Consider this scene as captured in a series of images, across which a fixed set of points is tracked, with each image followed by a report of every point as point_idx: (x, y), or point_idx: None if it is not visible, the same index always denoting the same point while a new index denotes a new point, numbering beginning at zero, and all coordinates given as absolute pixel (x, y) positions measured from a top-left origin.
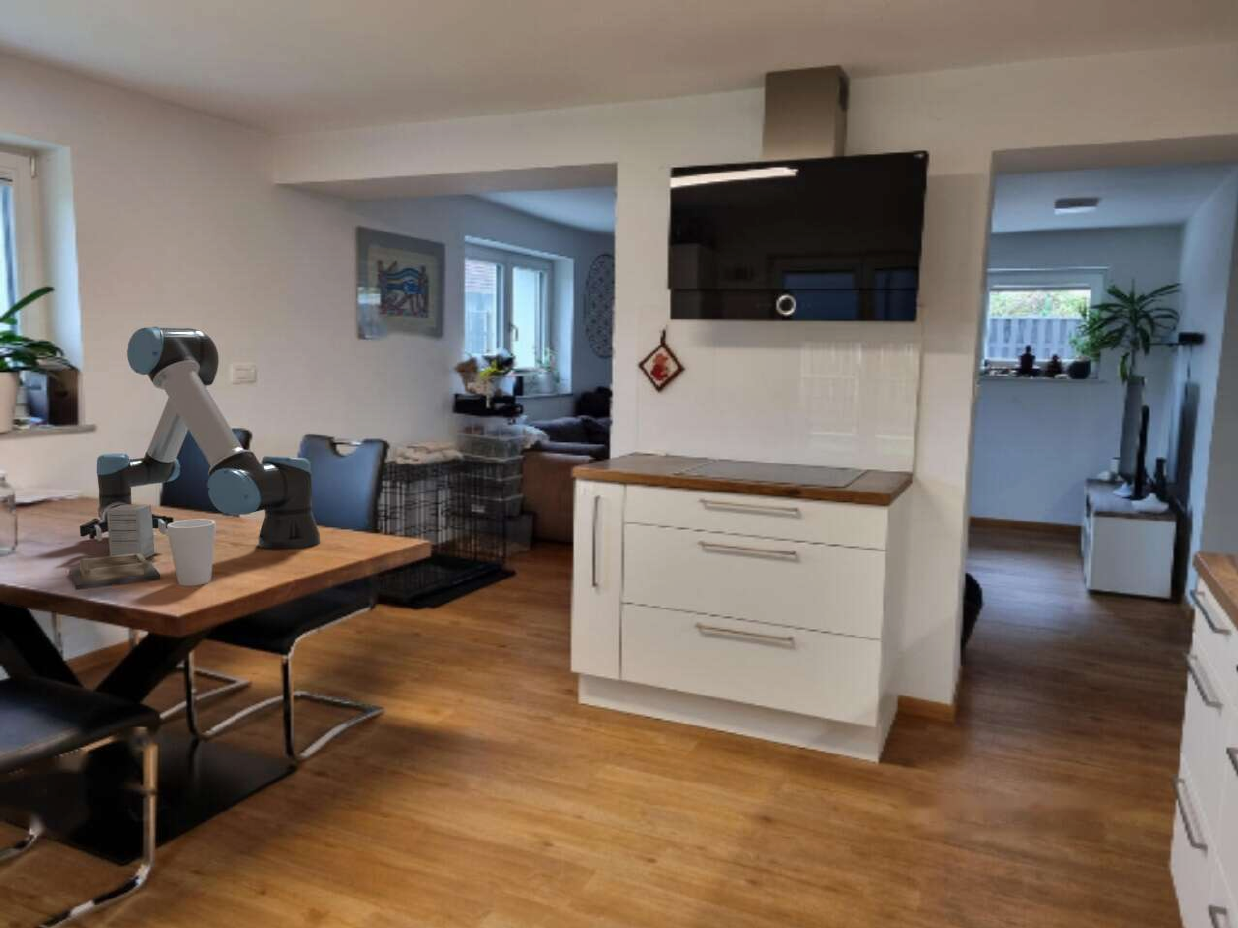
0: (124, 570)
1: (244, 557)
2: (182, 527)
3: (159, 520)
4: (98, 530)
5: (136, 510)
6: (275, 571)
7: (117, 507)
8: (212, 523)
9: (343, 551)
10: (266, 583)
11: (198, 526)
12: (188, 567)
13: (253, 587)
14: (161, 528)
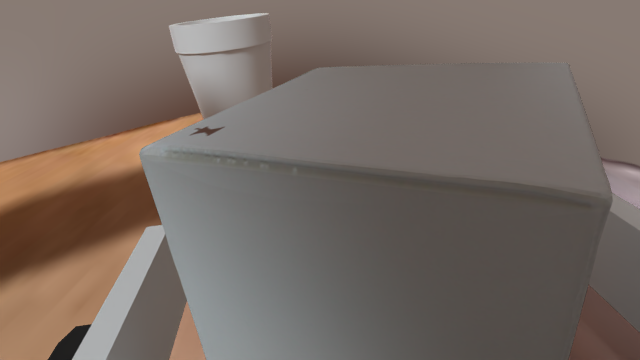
0: None
1: (9, 269)
2: (248, 14)
3: (113, 337)
4: None
5: (321, 69)
6: (92, 164)
7: (515, 88)
8: (187, 22)
9: None
10: (158, 130)
11: (221, 17)
12: None
13: (185, 123)
14: (169, 295)
